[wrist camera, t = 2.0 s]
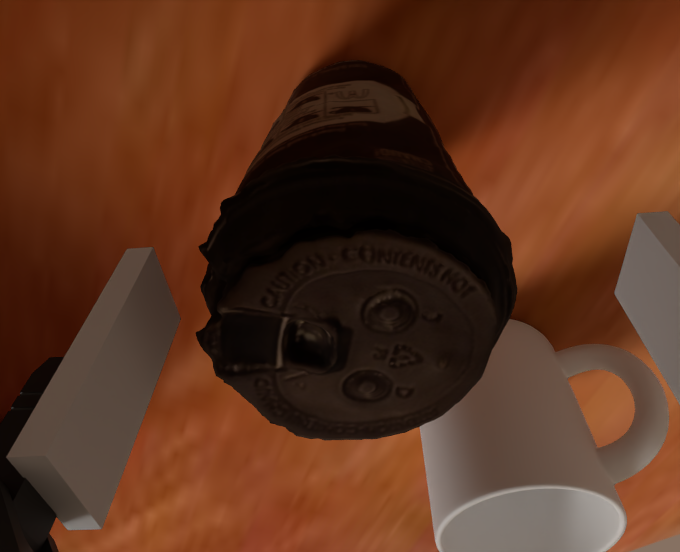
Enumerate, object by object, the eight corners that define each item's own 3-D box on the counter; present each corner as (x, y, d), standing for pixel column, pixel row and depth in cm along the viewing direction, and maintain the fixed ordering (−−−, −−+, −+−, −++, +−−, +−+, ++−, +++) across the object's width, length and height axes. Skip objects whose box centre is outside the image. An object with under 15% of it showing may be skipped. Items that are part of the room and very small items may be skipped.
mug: (589, 256, 27) (696, 428, 19) (635, 350, 31) (740, 525, 23) (385, 350, 31) (401, 524, 23) (451, 422, 35) (484, 591, 27)
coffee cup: (207, 122, 23) (95, 341, 12) (355, -27, 19) (371, 104, 9) (344, 248, 27) (345, 492, 16) (487, 143, 23) (602, 369, 13)
